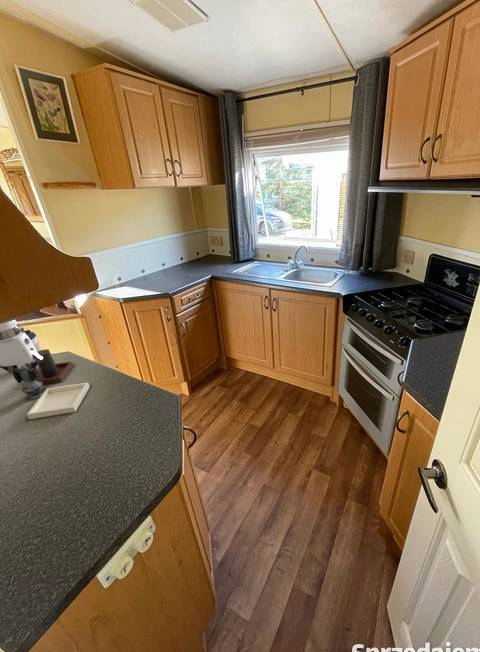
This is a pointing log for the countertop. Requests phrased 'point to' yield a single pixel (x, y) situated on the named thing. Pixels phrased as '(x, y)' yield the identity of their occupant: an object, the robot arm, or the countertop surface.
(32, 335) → the coffee cup
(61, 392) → the light tray
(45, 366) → the dark gray cylinder
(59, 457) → the countertop surface
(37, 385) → the marbled chess pawn
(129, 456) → the countertop surface
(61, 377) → the dark tray
